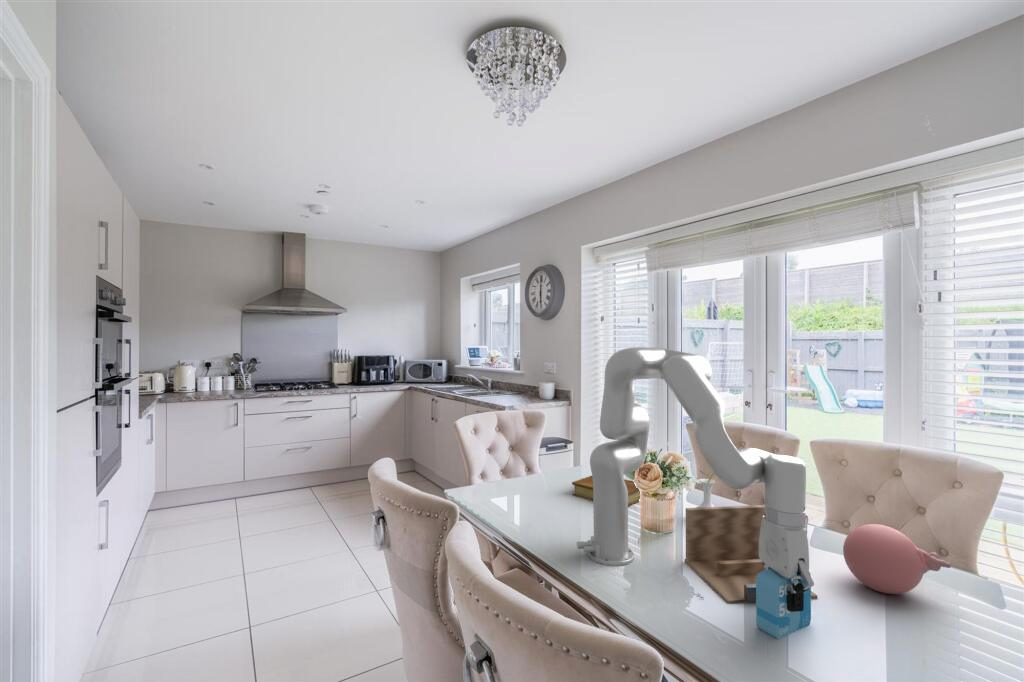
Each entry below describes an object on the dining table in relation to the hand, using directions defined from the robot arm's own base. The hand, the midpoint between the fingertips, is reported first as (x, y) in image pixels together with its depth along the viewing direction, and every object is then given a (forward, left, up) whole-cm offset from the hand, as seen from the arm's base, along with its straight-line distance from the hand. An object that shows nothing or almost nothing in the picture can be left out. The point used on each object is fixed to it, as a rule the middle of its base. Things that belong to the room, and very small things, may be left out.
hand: (783, 600), depth 99 cm
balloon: (+36, +10, -6) cm, 38 cm away
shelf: (+4, +20, -6) cm, 21 cm away
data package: (0, 0, -6) cm, 6 cm away
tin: (+32, +38, -6) cm, 50 cm away
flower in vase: (+15, +57, -6) cm, 59 cm away
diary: (-10, +86, -7) cm, 87 cm away
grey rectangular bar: (+4, +9, -6) cm, 12 cm away
